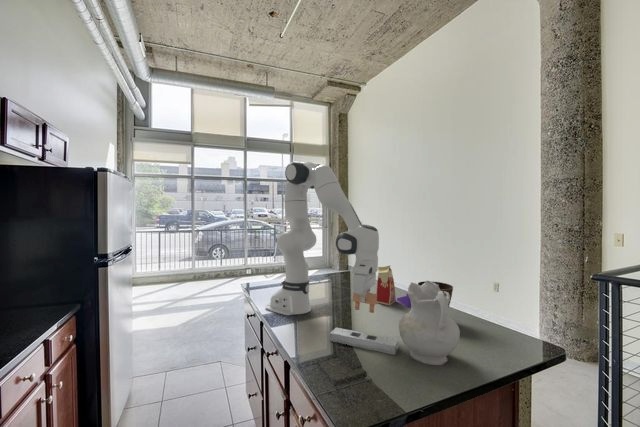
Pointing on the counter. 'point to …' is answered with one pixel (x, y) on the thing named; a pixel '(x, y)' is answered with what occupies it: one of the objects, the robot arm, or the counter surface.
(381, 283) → the red paper bag
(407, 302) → the purple cone
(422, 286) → the ceramic pitcher
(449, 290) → the plant pot
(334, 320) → the counter surface
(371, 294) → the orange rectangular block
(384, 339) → the rail
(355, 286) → the robot arm
